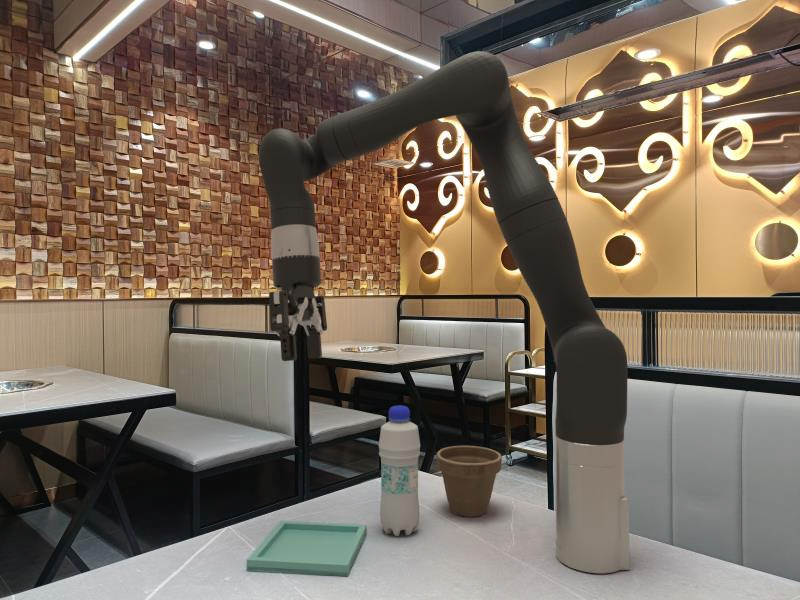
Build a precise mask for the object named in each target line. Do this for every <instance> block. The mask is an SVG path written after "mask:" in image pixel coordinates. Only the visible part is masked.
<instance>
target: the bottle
mask: <svg viewBox="0 0 800 600" xmlns="http://www.w3.org/2000/svg"><path fill="white" fill-rule="evenodd" d="M410 414H411V411H410V409H409V407H408V406H405V405H401V404H399V405H393V406H391V407H390V408H389V410H388V420H389V421H387V422H386V423H384V424H383V425H381V426H380V434H379V442H378V449H379V452H378V455H379V457H380V461H381V464H380V465H381V467H380V468H381V469H380V476H381V477H380V478H381V479H380V482H381V484H380V485H381V486H380V488H381V489H380V491H381V492H380V493H381V495H380V506H379V507H380V508H379V509H380V510H379V517H380V518H379V519H380V524H381V527H382V529H383V531H384V532H385V533H386V535H387V534H388V535H391V533H393V535H394V536H395V537H399V536H400V534H401V531H403V530H404V535H405V536H410V535H411V534H412V533H414V532H416V531H417V530H418V527H419V524H420V503H419V502H420V499H419V457H420V455H421V452H420V450H421V440H420V434H419V428H418V427H419V426H418V425H417V424H415V423H414V422H411V421H410V417H411V415H410Z"/></svg>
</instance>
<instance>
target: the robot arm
mask: <svg viewBox="0 0 800 600" xmlns="http://www.w3.org/2000/svg"><path fill="white" fill-rule="evenodd" d="M510 86H511V85H510V81H509V74H508V70H507V68H506V66H505V64H504V63H503V61H502V60H501V59H500V58H499V57H498V56H497V55H495V54H493V53H492V52H487V51H481V50H478V51H477V50H476V51H473V52H468V53H467V54H464V55H461V56H459V57H458V58H455V59H454V60H452V61H450V62H448V63H447V64H444V65H443V66H442V67H440V68H438V69H436V70H435V71H433V72H431V73H429V74H428V75H426V76H424V77H422V78H420V79H418V80H416V81H414V82H412V83H411V84H408V85H406V86H405V87H403V88H401V89H399V90H397V91H395V92H392V93H390V94H388V95H386V96H383V97H381V98H379V99H377V100H374V101H372V102H369V103H366V104H364V105H362V106H358V107H356V108H353V109H350V110H348V111H345V112H342V113H338V114H336V115H333V116H331V117H329V118H325V119H324V120H322V121H321V122H319V124H317V126H316V131H315V133H316V134H313V135H312V136H310V137H308V138H305V139H304V138H303V139H302V138H301V137H299V135H297V134H296V133H294V132H293V131H292V130H288V129H286V128H280V127H279V128H273V129H271V130H270V131H268V132H267V133H266V134H265V135H264V137H262V139H261V142H260V145H259V149H258V150H259V151H258V163H259V169H260V173H261V177H262V181H263V185H264V189H265V192H266V195H267V198H268V201H269V206H270V208H269V209H270V210H269V211H270V213H269V214H270V227H271V228H270V229H271V236H270V237H271V238H270V253H271V268H272V269H271V270H272V282H273V284H272V285H273V287H274V288H275V289H278V290H274V291H270V292H269V294H268V296H269V297H268V299H269V300H268V302H269V326H270V327H269V328H270V331H271V332H276V335H277V336H278V337H279V338H280V339H279V340H280V353H281V355H280V356H281V360H282V361H283V362H290V361H297V359H298V355H297V354H298V353H297V341H296V340H297V338H296V335H295V334H296V330H297V327H298V325H300V326H302V327H303V328H304V331H305V333H306V335H307V336H306V347H307V357H308V359H310V360H311V359H312V360H313V359H320V358H322V356H323V353H322V352H323V351H322V349H323V348H322V337H321V336H322V334H323V332H325V331H326V332H327V330H328V323H327V313H326V304H325V303H326V301H325V296H324V295H323V294H322V295H321V294H320V295H315V291H314V289H315V287H320V285H321V284H322V269H321V257H320V243H319V239H318V237H319V236H318V234H317V233H318V232H317V223H316V210H315V202H314V199H313V197H312V195H311V194H310V192H309V191H308V190H307V187H306V185H305V182H308V181H311V180H314V179H315V178H318V177H319V176H321V175H322V174H325V173H326V172H328V171H330V170H331V169H333V168H334V167H336V166H337V165H338V164H340V163H345V162H348V161H350V160H353V159H356V158H360V157H363V156H366V155H367V154H370V153H374V152H376V151H378V150H380V149H382V148H384V147H387V146H388V145H390V144H391V143H393V142H394V141H396V140H397V139H399V138H400V137H402V136H404V135H405V134H407V133H408V132H410V131H412V130H413V129H416V128H418V127H420V126H422V125H424V124H427V123H430V122H434V121H436V120H437V121H438V120H440V119H445V118H448V117H449V118H450V117H455V118H456V119H457V120H458V122H459V124H460V125H461V127H462V129H463V131H464V132H465V134H466V135H467V138H468V139H469V141H470V143H471V145H472V147H473V149H474V151H475V153H476V156H477V157H478V160H479V161H480V165H481V166H482V169H483V173H484V174H483V175H484V178H485V183H486V187H487V192H488V195H489V200H490V203H491V207H492V209H493V212H494V215H495V218H496V221H497V223H498V226H499V229H500V231H501V234H502V236H503V238H504V241H505V243H506V245H507V248H508V251H509V252H510V254H511V256H512V259H513V261H514V263H515V264H516V267H517V268H518V270H519V272H520V274H521V276H522V278H523V281H525V283H526V285H527V287H528V288H529V289H530V292H531V293H532V295H533V297H534V299H535V301H536V303H537V305H538V307H539V310H540V314H541V315H542V320H543V321H544V325H545V328H546V332H547V334H548V339H549V342H550V345H551V346H550V347H551V349H552V354H553V358H554V359H553V360H554V363H555V366H556V370H555V371H556V409H555V410H556V411H555V421H554V422H555V548H556V550H555V553H556V555H555V556H556V558H557V559H558V561H559V562H560V563H562V564H563V565H564V566H566V567H569V568H571V569H575V570H578V571H579V572H580V571H581V572H586V573H590V574H592V573H593V574H610V573H617V572H618V571H622V570H623V571H624V570H627V571H629V570H630V501H629V498H628V497H627V496H626V495H625V426H626V423H627V416H628V355H627V350H626V349H625V346H624V344H623V342H622V340H621V339H620V338H619V336H617V335H616V333H614V331H612V330H610V329H608V328H607V327H606V326H605V324H604V322H603V320H602V319H601V316H600V315H599V313H598V311H597V309H596V308H595V307H596V306H595V305H594V304H593V302H592V300H591V298H590V295H589V293H588V290H587V288H586V286H585V283H584V279H583V276H582V271H581V266H580V261H579V257H578V252H577V248H576V245H575V240H574V237H573V234H572V231H571V228H570V224H569V221H568V219H567V216H566V214H565V212H564V209H563V207H562V205H561V202H560V199H559V198H558V195H557V194H556V191H555V190H554V188H553V187H554V186H553V185H552V184H551V182H550V180H549V179H548V177H547V174H546V173H545V172H544V170H543V169H542V167H541V165H540V164H539V162H538V160H537V159H536V158H535V156H534V155H533V153H532V152H531V150H530V148H529V147H528V145H527V143H526V141H525V137H524V136H523V133H522V130H521V127H520V123H519V120H518V117H517V113H516V111H515V107H514V103H513V99H512V92H511V87H510ZM278 321H279V322H278Z"/></svg>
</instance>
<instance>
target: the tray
mask: <svg viewBox="0 0 800 600" xmlns="http://www.w3.org/2000/svg"><path fill="white" fill-rule="evenodd" d="M367 526H368V525H367V524H363V523H362V524H359V523H341V522H340V523H339V522H321V521H319V522H316V521H315V522H314V521H297V520H296V521H294V520H280V521H279V522H278V523H277V524H276V526H275V527H274V528H273V529H272V530H271V531H270V532H269V534H268V535H267V536H266V537H265V538H264V539H263V540H262V542H260V544H259V545H258V546H257V547H256V548H255V550H254V551H252V553H251V554H250V555H249V556H248V558H247V559H246V571H247V572H262V573H277V574H278V573H281V574H295V575H312V576H331V577H348V576H349V575H350V572H351V570H352V568H353V565H354V563H355V560H356V559H357V558H358V557H357V556H358V555H359V553H360V550H361V548H362V545H363V543H364V542H365V539H366V536H367V533H368V529H367V528H368V527H367Z"/></svg>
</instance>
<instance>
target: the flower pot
mask: <svg viewBox="0 0 800 600" xmlns="http://www.w3.org/2000/svg"><path fill="white" fill-rule="evenodd" d="M502 459H503V457H502V454H501V453H499V452H498V451H496V450H494V449H491V448H488V447H484V446H483V447H482V446H478V445H477V446H476V445H454V446H448V447H443V448H441V449H440V450H438V451H437V452H436V468H437V469H438V470H439V471H440V472H441V475H442V481H443V487H444V490H445V495H446V499H447V503H448V507H449V510H450V511H451V512H452V513H453V514H455V515H457V516H461V517H471V518H474V517H480V516H483V515H484V514H486V513H487V511H488V508H489V505H490V502H491V498H492V493H493V490H494V485H495V481H496V476H497V474H498V473H500V472H501V470H502V463H503V462H502Z"/></svg>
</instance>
